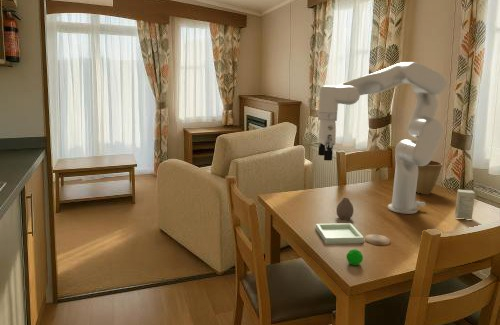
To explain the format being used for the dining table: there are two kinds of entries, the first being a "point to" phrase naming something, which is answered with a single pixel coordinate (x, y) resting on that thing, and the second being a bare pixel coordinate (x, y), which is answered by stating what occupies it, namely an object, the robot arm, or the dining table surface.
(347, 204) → the vase
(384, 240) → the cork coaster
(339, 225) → the tray
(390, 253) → the dining table surface
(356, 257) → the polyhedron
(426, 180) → the plant pot
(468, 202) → the skincare box
